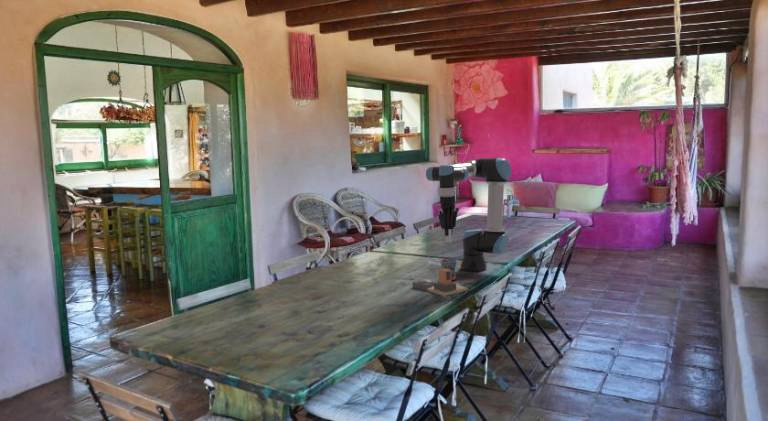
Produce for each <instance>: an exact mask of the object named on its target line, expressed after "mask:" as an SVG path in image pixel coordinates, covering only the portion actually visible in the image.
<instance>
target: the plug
mask: <svg viewBox="0 0 768 421" xmlns="http://www.w3.org/2000/svg"><path fill="white" fill-rule="evenodd" d="M438 281H439V284H442V285H450V284H451V282H452V281H451V270H449V269H445V268H444V269H442V268H441V269H438Z"/></svg>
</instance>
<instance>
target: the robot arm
mask: <svg viewBox="0 0 768 421" xmlns="http://www.w3.org/2000/svg"><path fill="white" fill-rule="evenodd" d="M511 176H512V166H511V164H510V162H509V160H508V159H506V158H503V157H501V158H500V157H494V158H493V157H491V158H490V157H489V158H487V157H486V158H485V157H481V158H476V159H472V160H471V159H470V160H467V161H465V162H463V163H458V164H457V163H455V164H442V165H439V166H429V167H427V169H426V171H425V177H426V179H427V180H428V181H430V182H439V203H440V207H439V210H436V214H437V215H438V219H439V224H440V227H441V229H443V230H444V236H445V242H447V243H452V242H453V240H452V239H453V237H452V235H453V230H454V228H455V227H456V224H457V217H458V212H459V210H460V208H459V207H456V205H455V204H456V197H455V195H456V191H455V188H456V187H455V183H459V182H464V181H466V180H467V179H469V178H471V179H472V178H476V179H483V180H484V179H485V183H486V184H487V185H488V187H487V190H488V191H487V214H486V218H487V219H486V227H485V228H484V229H483V228H475V229H468V230H465V231H464V232H463V233H462V253H463V254H462V258H461V263H460V270H461V271H465V272H482V271H485V270H487V263H486V260H485V257H484V256H485V255H484V254H493V255H503V254H504V253H506V250H508V247H509V243H510V238H509V235H507V234H506V230H505V229H504V228H503V220H504V219H503V218H504V195H505V194H504V190H505V188H504V187H505V185H506V184H507V182H508V181H507V180H509V179H510V178H511Z"/></svg>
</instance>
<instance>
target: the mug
mask: <svg viewBox="0 0 768 421" xmlns="http://www.w3.org/2000/svg"><path fill="white" fill-rule="evenodd" d="M457 262H458V261H457V259H456V258H455V259H454V258H443V259H440V260H439V263H440V265H441V269H444V268H445V269H449V270H451V282H452V281H456V279H457V276H456V271H455V269H456V266H457Z"/></svg>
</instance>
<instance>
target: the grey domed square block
mask: <svg viewBox="0 0 768 421" xmlns="http://www.w3.org/2000/svg"><path fill="white" fill-rule="evenodd" d="M436 282H439V280H436V279H432V278H427V277H424V278H423V277H422V278H421V279H417V280H414V281H412V282H411V283H412V288H415V289H418V290H423V291H427V288H430V287H432V286H434V283H436ZM427 292H428V291H427Z"/></svg>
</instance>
